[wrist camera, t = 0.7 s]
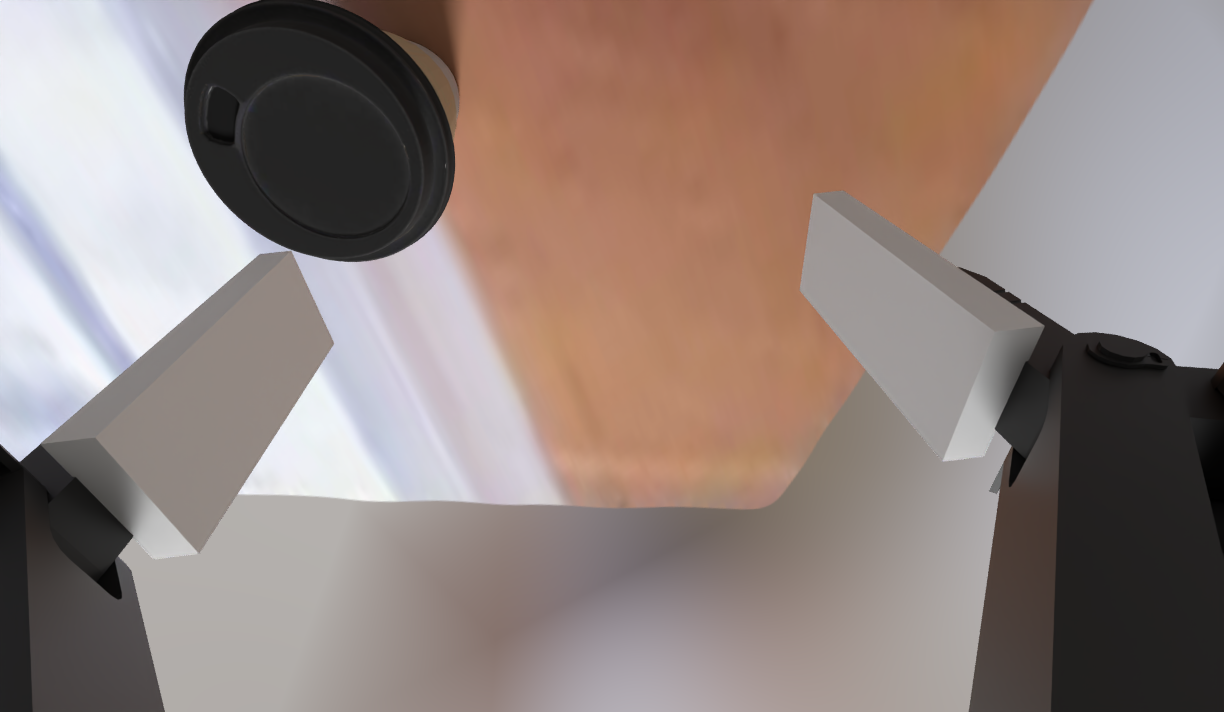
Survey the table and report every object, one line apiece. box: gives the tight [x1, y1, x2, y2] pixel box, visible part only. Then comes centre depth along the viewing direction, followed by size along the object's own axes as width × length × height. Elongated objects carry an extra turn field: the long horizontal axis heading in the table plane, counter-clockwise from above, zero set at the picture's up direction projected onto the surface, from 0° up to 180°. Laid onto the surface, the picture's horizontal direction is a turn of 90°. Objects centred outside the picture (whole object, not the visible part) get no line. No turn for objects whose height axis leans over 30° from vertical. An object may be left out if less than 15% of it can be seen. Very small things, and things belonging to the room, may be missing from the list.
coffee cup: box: [184, 0, 459, 262], centre depth 25 cm, size 9×9×15 cm
